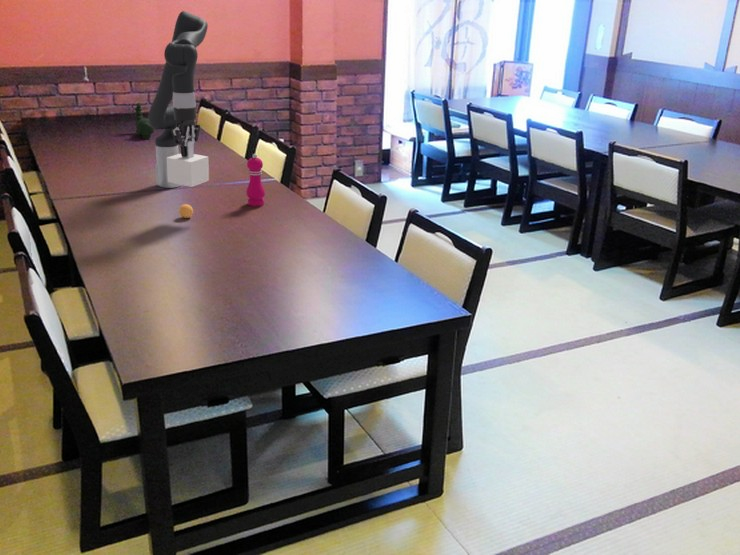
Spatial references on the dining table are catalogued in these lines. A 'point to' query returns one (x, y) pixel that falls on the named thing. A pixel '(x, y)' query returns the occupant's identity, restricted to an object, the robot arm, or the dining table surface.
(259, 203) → the pepper mill
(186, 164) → the white cube bottle
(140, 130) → the toy figurine
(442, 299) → the dining table surface
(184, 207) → the ball
